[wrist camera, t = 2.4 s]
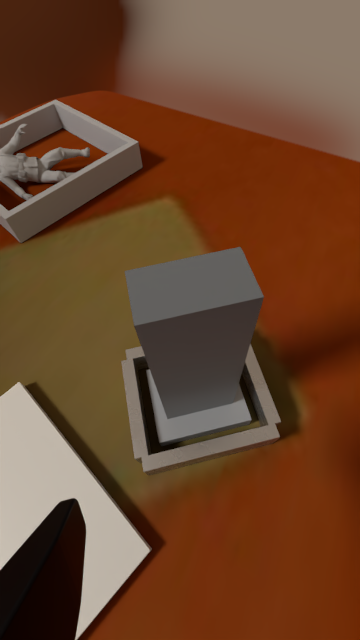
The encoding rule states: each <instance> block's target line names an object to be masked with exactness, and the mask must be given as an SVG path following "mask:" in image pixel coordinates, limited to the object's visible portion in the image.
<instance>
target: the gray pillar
mask: <svg viewBox="0 0 360 640" xmlns="http://www.w3.org/2000/svg"><path fill="white" fill-rule="evenodd" d="M125 275H126V281H127V287H128V293H129V298H130V304H131V310H132V316H133V322H134V327H135V329H136V332H137V335H138V338H139V341H140V343H141V346H142V349H143V352H144V355H145V357H146V360H147V363H148V366H149V370H146V372H147V378H148V383H149V389H150V394H151V400H152V405H153V411H154V417H155V422H156V428H157V433H158V439H159V443H160V445H161V446H165V445H169V444H173V443H177V442H181V441H185V440H189V439H193V438H197V437H201V436H205V435H209V434H213V433H217V432H221V431H225V430H229V429H233V428H237V427H241V426H245V425H249V424H250V422H251V417H250V414H249V411H248V408H247V405H246V402H245V399H244V396H243V394H242V391H241V388H240V385H239V381H240V378H241V374H242V371H243V367H244V364H245V360H246V357H247V353H248V350H249V346H250V343H251V340H252V336H253V333H254V329H255V326H256V322H257V319H258V315H259V312H260V308H261V305H262V301H263V298H264V296H263V294H262V292H261V290H260V288H259V286H258V283H257V281H256V279H255V277H254V275H253V273H252V270H251V268H250V266H249V264H248V262H247V260H246V258H245V255H244V253H243V251H242V249H241V247H238V248H233V249H228V250H223V251H219V252H214V253H209V254H204V255H199V256H195V257H190V258H185V259H180V260H176V261H171V262H166V263H161V264H157V265H152V266H147V267H142V268H137V269H133V270H128V271H125Z"/></svg>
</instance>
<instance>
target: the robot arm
mask: <svg viewBox="0 0 360 640" xmlns="http://www.w3.org/2000/svg"><path fill="white" fill-rule="evenodd" d="M85 543H86V524H85V520H84V517H83V514H82V511H81V508H80V505H79V502H78V500H77V499H75V498H71V499H67V500H63V501H61V502H59V503H58V504H57V505H56V506H55V507H54V509H53V510H52V511H51V512H50V513H49V514H48V516H47V517H46V518H45V519H44V520H43V521H42V522H41V524H40V525H39V526H38V527H37V528H36V529H35V531H34V532H33V533H32V534H31V535H30V536H29V537H28V539H27V540H26V541H25V542H24V543H23V544H22V545H21V547H20V548H19V549H18V550H17V551H16V552H15V554H14V555H13V556H12V557H11V558H10V559H9V560H8V562H7V563H6V564H5V565H4V566H3V567H2V569H1V570H0V640H75V638H76V631H77V625H78V619H79V613H80V606H81V597H82V585H83V571H84V557H85Z"/></svg>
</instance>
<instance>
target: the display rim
mask: <svg viewBox="0 0 360 640" xmlns="http://www.w3.org/2000/svg"><path fill="white" fill-rule="evenodd" d="M21 124H27V126H25V128H23V132H25V134H23V135H22V139H21V142H20V145H19V147H18V149H16V150H15V152H16V151H18V150H20V149H22V148H24V147H26V146H28V145H30V144H32V143H34V142H36V141H37V140H39V139H41V138H43V137H45V136H47V135H49V134H51V133H53V132H55V131H57V130H59V129H61V128H64V129H65V130H67V131H69V132H71V133H73V134H74V135H76V136H78V137H80V138H81V139H83V140H85V141H87V142H88V143H90V144H92V145H94V146H95V147H97V148H99V149H101V150H102V151H104V152H106V153H108V154H107V155H106V156H104V157H102V158H100V159H99V160H97V161H95V162H93V163H92V164H90V165H88V166H86V167H85V168H83V169H81V170H80V171H78V172H76V173H74V174H73V175H71V176H69V177H67V178H66V179H64V180H62V181H60V182H59V183H57V184H55V185H53V186H52V187H50V188H48V189H46V190H45V191H43V192H41V193H39V194H38V195H36V196H34V197H32V198H31V199H29V200H27V201H25V202H24V203H22V204H20V205H19V206H17V207H15V208H13V209H12V210H10V211H8V210H7V209H6V208H4V207H3V206H2V205H1V204H0V224H1V225H2V226H3V227H4V228H5V229H6V230H8V231H9V232H10V233H11V234H12V235H13V236H14V237H15V238H16V239H17V240H18V241H19V242H20V243H22V242H24V241H25V240H27V239H29V238H30V237H32V236H33V235H35V234H37V233H38V232H40V231H41V230H43V229H45V228H46V227H48V226H49V225H51V224H53V223H54V222H56V221H57V220H59V219H61V218H62V217H64V216H65V215H67V214H69V213H70V212H72V211H74V210H75V209H77V208H78V207H80V206H82V205H83V204H85V203H86V202H88V201H90V200H91V199H93V198H94V197H96V196H98V195H99V194H101V193H102V192H104V191H106V190H107V189H109V188H110V187H112V186H114V185H115V184H117V183H118V182H120V181H122V180H123V179H125V178H126V177H128V176H130V175H131V174H133V173H134V172H136V171H138V170H139V169H141V168H142V167H143V166H142V161H141V155H140V149H139V143H138V141H136V140H134V139H132V138H130V137H128V136H126V135H124V134H122V133H120V132H118V131H116V130H114V129H112V128H110V127H108V126H106V125H104V124H102V123H100V122H98V121H96V120H95V119H93V118H91V117H89V116H87V115H85V114H83V113H81V112H79V111H77V110H75V109H73V108H71V107H69V106H67V105H65V104H63V103H61V102H59V101H57V100H54V101H52V102H49V103H47V104H45V105H43V106H41V107H39V108H36V109H34V110H32V111H30V112H28V113H26V114H23V115H21V116H19V117H17V118H15V119H13V120H10V121H8V122H6V123H4V124H2V125H0V149H1V148H3V147H4V146H5V145H7V144H8V143H9V142H10V140H11V139H12V137H13V136H14V134H15V132H16V130H17V129H18V127H19V126H20V125H21Z"/></svg>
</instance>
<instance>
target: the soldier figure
mask: <svg viewBox="0 0 360 640" xmlns="http://www.w3.org/2000/svg"><path fill="white" fill-rule="evenodd" d="M25 126H27V124H21V125H20V126H19V127H18V129H17V130H16V132H15V134H14V136H13V137H12V139H11V140H10V142H9V143H8V144H7V145H5V146H4V147H3V148H1V149H0V181H2V182H3V183H4V184H5V185H6V186H8V187H9V188H10V189H12V190H13V191H14V192H15V193H16V194H17V195H19V196H20V197H21V198H23V199H26V200H29V199H31V198H32V197H31V196H33V195H30V194H26V193H25V191H24V190H23V189H22V188H21V187H20V186H19V185H18V184H17V183H16V182H15V181H14V180H17V179H19V181H22V182H26V183H27V181H32V182H33V181H35V182H37V183H41V182H43V183H57V182H60V181H62V180H64V179H66V178H67V177H69V176H71V175H73V174H74V173H66V172H62V171H50V169H51V168H52V167H53V166H54V165H55V164H57V163H59V162H60V161H61V160H63V159H67V158H72V157H77V156H84V157H89V156H90V149H89V147H88V148H86V149H83V150H73V149H64V148H61V147H59V148H57V149H54V150H52V151H50V152H48V153H46V154H45V155H44V156H43V157H42V158H41V159H38V158H37V157H27V156H26V155H25V153H17V155H16V156H15V155H12V154H13V153H14V152H15V150H16V149H18V147H19V145H20V142H21V139H22V135H23V134H25V132H23V128H25Z"/></svg>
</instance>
